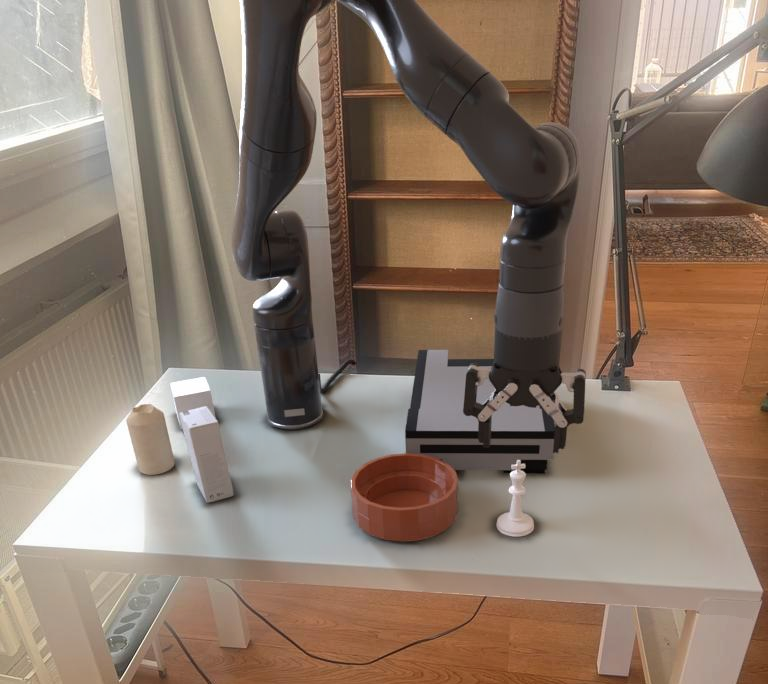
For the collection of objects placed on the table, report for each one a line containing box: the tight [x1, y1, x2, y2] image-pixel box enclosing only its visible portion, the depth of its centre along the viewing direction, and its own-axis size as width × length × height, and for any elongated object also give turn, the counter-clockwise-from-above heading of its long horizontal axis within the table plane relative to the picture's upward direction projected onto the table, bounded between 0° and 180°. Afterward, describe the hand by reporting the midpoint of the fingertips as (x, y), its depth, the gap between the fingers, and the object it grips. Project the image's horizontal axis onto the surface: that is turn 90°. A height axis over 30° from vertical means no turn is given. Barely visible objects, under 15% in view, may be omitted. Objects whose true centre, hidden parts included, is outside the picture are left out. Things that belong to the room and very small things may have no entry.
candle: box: [125, 403, 175, 476], centre depth 119 cm, size 6×6×10 cm
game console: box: [404, 349, 556, 475], centre depth 124 cm, size 21×32×8 cm, turn 175°
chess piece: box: [495, 460, 535, 538], centre depth 101 cm, size 5×5×10 cm
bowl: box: [350, 452, 459, 542], centre depth 106 cm, size 14×14×6 cm
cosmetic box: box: [180, 406, 235, 503], centre depth 111 cm, size 6×4×12 cm
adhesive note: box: [169, 376, 217, 430], centre depth 133 cm, size 6×6×6 cm
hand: (521, 447), depth 97 cm, fingers open, 8 cm apart
